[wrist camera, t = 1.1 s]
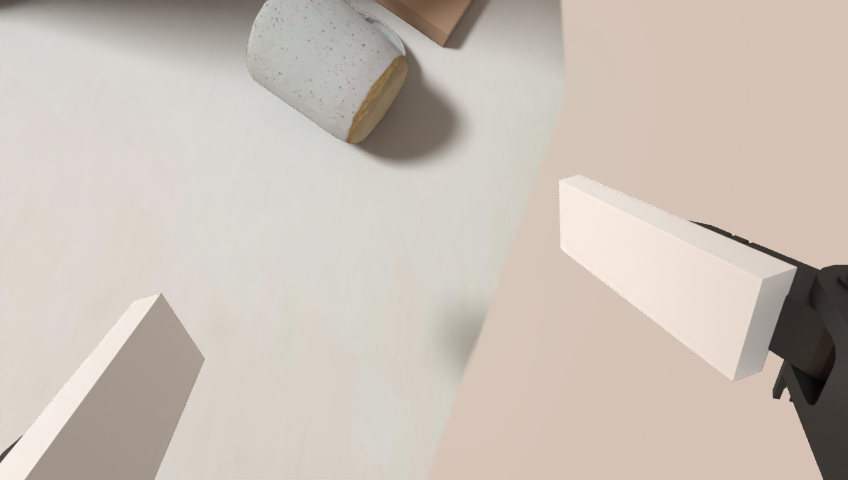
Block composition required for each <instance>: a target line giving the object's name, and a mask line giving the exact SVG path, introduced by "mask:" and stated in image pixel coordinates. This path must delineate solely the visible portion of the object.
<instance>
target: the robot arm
mask: <svg viewBox="0 0 848 480" xmlns="http://www.w3.org/2000/svg"><path fill="white" fill-rule="evenodd" d="M559 191H560V192H559V196H560V242H561V243H560V245H561V249H562V250H563V251H564V252H565V253H567V254H568V255H569V256H571V257H572V258H573V259H574V260H576V261H577V262H578V263H580V264H581V265H582V266H583V267H585V268H586V269H587V270H589V271H590V272H591V273H592V274H594V275H595V276H596V277H598V278H599V279H600V280H602V281H603V282H604V283H605V284H607V285H608V286H609V287H611V288H612V289H613V290H614V291H616V292H617V293H618V294H620V295H621V296H622V297H623V298H625V299H626V300H627V301H629V302H630V303H631V304H632V305H634V306H635V307H636V308H638V309H639V310H640V311H641V312H643V313H644V314H645V315H647V316H648V317H649V318H650V319H652V320H653V321H654V322H656V323H657V324H658V325H660V326H661V327H662V328H663V329H665V330H666V331H667V332H669V333H670V334H671V335H673V336H674V337H675V338H676V339H678V340H679V341H680V342H682V343H683V344H684V345H685V346H687V347H688V348H690V350H692V351H693V352H694V353H696V354H697V355H698V356H700V357H701V358H702V359H703V360H705V361H706V362H707V363H709V364H710V365H711V366H713V367H714V368H715V369H716V370H718V371H719V372H720V373H721V374H723V375H724V376H725V377H727V378H728V379H729V380H731V381H732V382H734V381H737V380H739V379H741V378H744V377H747V376H749V375H752V374H755V373H757V372H760V371H762V369H763V366H764V363H765V360H766V357H767V354H768V351H769V350H770V351H772V352H773V353H775V354H776V355H778V356H780V357H781V358H783V359H784V362H783V364H782V367H781V369H780V372H779V375H778V377H777V380H776V383H775V385H774V388H773V398H775V399H780V397H781V394H782V392H783V390H784V389H785V388H786V387H787V388H788V391H789V393H790V396H791V397H790V400H789V401H790V402H793V403H794V406H795V408H796V411H797V414H798V416H799V418H800V421H801V424H802V426H803V429H804V431H805V434H806V437H807V439H808V442H809V444H810V447H811V449H812V452H813V454H814V457H815V460H816V462H817V464H818V467H819V470H820V472H821V475H822V477H823V480H848V265H832V266H829V267H825V268H822V269H821V270H819V269H816V268H814V267H811V266H809V265H807V264H804V263H802V262H799V261H797V260H794V259H792V258H789V257H787V256H785V255H782V254H780V253H777V252H775V251H772V250H770V249H768V248H765V247H763V246H760V245H758V244H755V243H749V241H748V240H746V239H743V238H741V237H738V236H736V235H735V236H732V234H731V233H729V232H726V231H724V230H721V229H719V228H717V227H714V226H712V225H707V224H702V223H698V222H693V221H688V220H685V219H683V218H680V217H678V216H675V215H673V214H671V213H668V212H666V211H663V210H661V209H659V208H657V207H654V206H652V205H649V204H647V203H645V202H643V201H640V200H638V199H635V198H633V197H631V196H628V195H626V194H624V193H621V192H619V191H617V190H614V189H612V188H610V187H607V186H605V185H602V184H600V183H598V182H595V181H593V180H591V179H588V178H586V177H584V176H581V175H576V176H573V177H569V178H565V179H562V180H559ZM204 359H205V358H204V357H203V355H202V354H201V352H200V351H199V349H198V348H197V346H196V345H195V343H194V342H193V340H192V339H191V337H190V336H189V334H188V333H187V331H186V330H185V328H184V327H183V325H182V323H181V322H180V320H179V319H178V317H177V316H176V314H175V313H174V311H173V310H172V308H171V307H170V305H169V304H168V302H167V301H166V299H165V298H164V296H163V295H162V293H159V294H156V295H152V296H149V297H145V298H142V299H138V300H135V301H134V302H133V303H132V304H131V305H130V306H129V308H128V309H127V310H126V311H125V313H124V314H123V315H122V316H121V317H120V319H119V320H118V321H117V322H116V323H115V325H114V326H113V327H112V328H111V330H110V331H109V332H108V333H107V334H106V336H105V337H104V338H103V339H102V340H101V342H100V343H99V344H98V345H97V347H96V348H95V349H94V350H93V351H92V353H91V354H90V355H89V356H88V357H87V359H86V360H85V361H84V362H83V363H82V365H81V366H80V367H79V368H78V370H77V371H76V372H75V373H74V374H73V376H72V377H71V378H70V379H69V380H68V382H67V383H66V384H65V385H64V387H63V388H62V389H61V390H60V391H59V393H58V394H57V395H56V396H55V397H54V399H53V400H52V401H51V402H50V404H49V405H48V406H47V407H46V408H45V410H44V411H43V412H42V413H41V414H40V416H39V417H38V418H37V419H36V421H35V422H34V423H33V424H32V425H31V427H30V428H29V429H28V430H27V431H26V433H25V434H24V435H22V436H21V437H20V438H19V439H18V440H17V441H16V442H15V443H13V444H12V445H11V446H10V447H9V448H8V449H7V450H5V451H4V452H3V453H2V454H1V456H0V480H154V479H155V477H156V474H157V472H158V469H159V467H160V465H161V462H162V460H163V457H164V455H165V453H166V450H167V448H168V445H169V443H170V441H171V438H172V436H173V433H174V431H175V429H176V426H177V424H178V422H179V419H180V417H181V414H182V412H183V410H184V407H185V405H186V402H187V400H188V398H189V395H190V393H191V390H192V388H193V386H194V383H195V381H196V379H197V376H198V374H199V371H200V369H201V367H202V364H203V362H204Z"/></svg>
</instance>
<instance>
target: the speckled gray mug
mask: <svg viewBox="0 0 848 480" xmlns="http://www.w3.org/2000/svg"><path fill="white" fill-rule="evenodd" d="M405 57H406V51H405V48H404V45H403V43H402V41H401V40H400V38H399V37H398V36H397V34H396V33H395V32H394V31H393V30H392V29H391V28H390V27H389V26H388V25H386V24H385V23H384V22H383V21H381V20H379V19H378V18H376V17H375V16H373V15H371V14H369V13H367V12H364V11H361V10H356V9H354V8H353V7H352V6H351V5H349V4H348V3H347V2H346V1H345V0H267V1H266V2H265V4H264V5H263V7H262V8H261V10H260V12H259V13H258V15H257V17H256V19H255V21H254V24H253V26H252V29H251V33H250V37H249V40H248V45H247V67H248V71H249V73H250V74H251V76H252V78H253V79H254V80H255V81H256V82H258V83H259V84H260V85H262V86H263V87H265V88H266V89H267V90H269V91H270V92H272V93H273V94H275V95H276V96H277V97H279V98H280V99H282V100H283V101H284V102H286V103H287V104H289V105H290V106H291V107H293V108H294V109H296V110H297V111H299V112H300V113H302V114H303V115H305V116H306V117H308V118H309V119H310V120H312V121H313V122H315V123H316V124H317V125H319V126H320V127H321V128H323V129H324V130H325V131H327V132H328V133H330V134H331V135H333V136H334V137H336V138H338V139H341V140H343V141H345V142H347V143H351V144H354V143H358V142H361V141H363V140H364V139H365V138H366V137H367V136H368V135H369V134H370V133H371V132H372V131H373V129H374V128H375V127H376V126H377V124H378V123H379V122H380V121H381V119H382V118H383V116H384V115H385V114H386V112H387V111H388V109H389V108H390V106H391V105H392V103H393V102H394V100H395V98H396V97H397V95H398V93H399V91H400V90H401V88H402V86H403V84H404V82H405V80H406V76H407V73H408V63H407V60H406V58H405Z"/></svg>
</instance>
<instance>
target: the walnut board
mask: <svg viewBox="0 0 848 480" xmlns="http://www.w3.org/2000/svg"><path fill="white" fill-rule="evenodd" d="M376 1H377V2H378V3H380V4H381V5H383V6H384V7H386V8H387V9H389V10H390V11H391V12H393V13H394V14H396V15H397V16H399V17H400V18H401V19H403V20H404V21H406V22H407V23H409V24H410V25H412V26H413V27H414V28H416V29H417V30H419V31H420V32H422V33H423V34H424V35H426V36H427V37H429V38H430V39H432V40H433V41H435V42H436V43H437V44H439V45H440V46H442V47H443V46H444V44H445V43H446V41H447V40H448V38H449V37H450V35H451V34H452V32H453V30H454V29H455V27H456V26H457V24H458V23H459V21H460V20H461V18H462V16H463V15H464V13H465V12H466V10H467V9H468V7H469V6H470V4H471V3H472V1H473V0H376Z"/></svg>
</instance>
